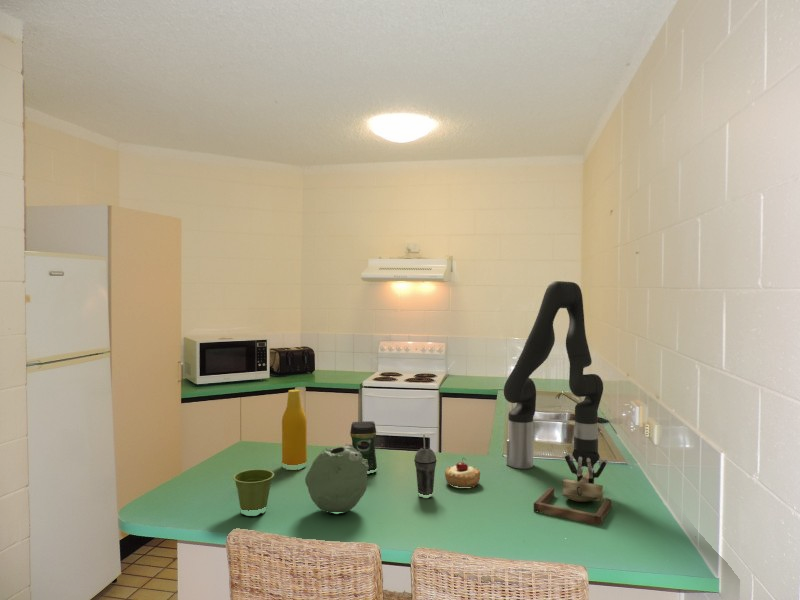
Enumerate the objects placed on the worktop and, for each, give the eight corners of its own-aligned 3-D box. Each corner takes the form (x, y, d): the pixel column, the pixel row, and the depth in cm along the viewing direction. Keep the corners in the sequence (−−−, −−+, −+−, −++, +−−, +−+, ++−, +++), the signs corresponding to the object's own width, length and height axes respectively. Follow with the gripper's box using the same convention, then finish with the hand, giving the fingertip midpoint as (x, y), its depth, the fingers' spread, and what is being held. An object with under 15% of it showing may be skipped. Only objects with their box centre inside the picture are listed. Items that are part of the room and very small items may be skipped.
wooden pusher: (562, 494, 176) (562, 480, 176) (571, 481, 186) (571, 468, 186) (601, 501, 170) (601, 487, 169) (608, 487, 180) (608, 474, 180)
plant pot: (239, 524, 154) (239, 484, 154) (228, 510, 164) (228, 473, 164) (279, 515, 160) (279, 477, 160) (267, 502, 170) (266, 466, 170)
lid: (562, 508, 165) (562, 491, 165) (561, 496, 174) (561, 480, 174) (599, 511, 162) (599, 494, 162) (595, 498, 172) (595, 483, 172)
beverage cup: (440, 493, 177) (439, 432, 177) (431, 501, 170) (431, 438, 170) (419, 490, 180) (419, 430, 180) (410, 498, 173) (410, 435, 173)
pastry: (441, 489, 182) (440, 463, 182) (450, 477, 193) (449, 452, 193) (476, 492, 178) (475, 465, 178) (483, 480, 189) (482, 455, 189)
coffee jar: (376, 468, 203) (376, 418, 203) (377, 475, 195) (377, 424, 195) (350, 469, 202) (350, 419, 202) (350, 476, 194) (350, 424, 194)
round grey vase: (306, 503, 169) (306, 439, 169) (367, 500, 171) (366, 437, 171) (304, 525, 153) (303, 454, 153) (370, 521, 156) (370, 451, 155)
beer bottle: (287, 462, 210) (286, 388, 210) (310, 463, 209) (309, 388, 208) (278, 470, 201) (277, 392, 201) (302, 471, 200) (302, 393, 199)
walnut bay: (533, 511, 162) (533, 503, 162) (549, 495, 175) (549, 487, 175) (599, 525, 152) (599, 517, 152) (611, 507, 165) (611, 499, 165)
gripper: (561, 435, 177) (561, 487, 178) (606, 441, 170) (605, 496, 170) (567, 429, 184) (567, 480, 184) (610, 435, 176) (610, 488, 177)
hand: (585, 487), depth 177 cm, fingers closed on wooden pusher, 2 cm apart
